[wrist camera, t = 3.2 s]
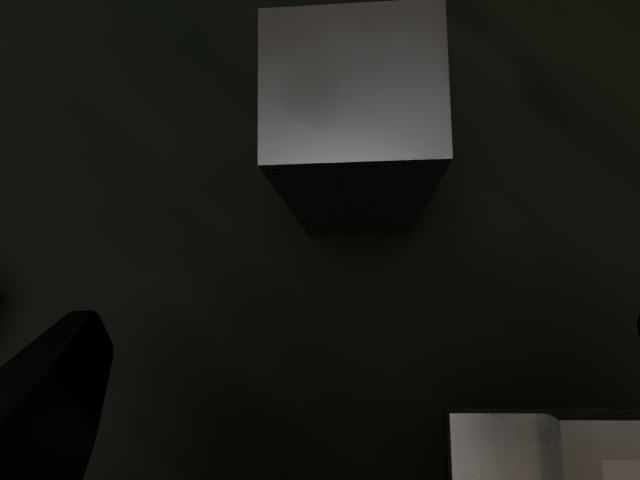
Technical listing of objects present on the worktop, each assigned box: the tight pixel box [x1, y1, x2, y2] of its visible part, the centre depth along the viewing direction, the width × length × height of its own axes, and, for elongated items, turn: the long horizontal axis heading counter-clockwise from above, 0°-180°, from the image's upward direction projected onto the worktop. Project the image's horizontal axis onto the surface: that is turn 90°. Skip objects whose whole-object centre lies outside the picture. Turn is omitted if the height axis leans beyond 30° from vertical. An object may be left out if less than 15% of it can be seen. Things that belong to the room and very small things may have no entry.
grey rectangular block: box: [258, 0, 453, 235], centre depth 16 cm, size 4×4×10 cm
